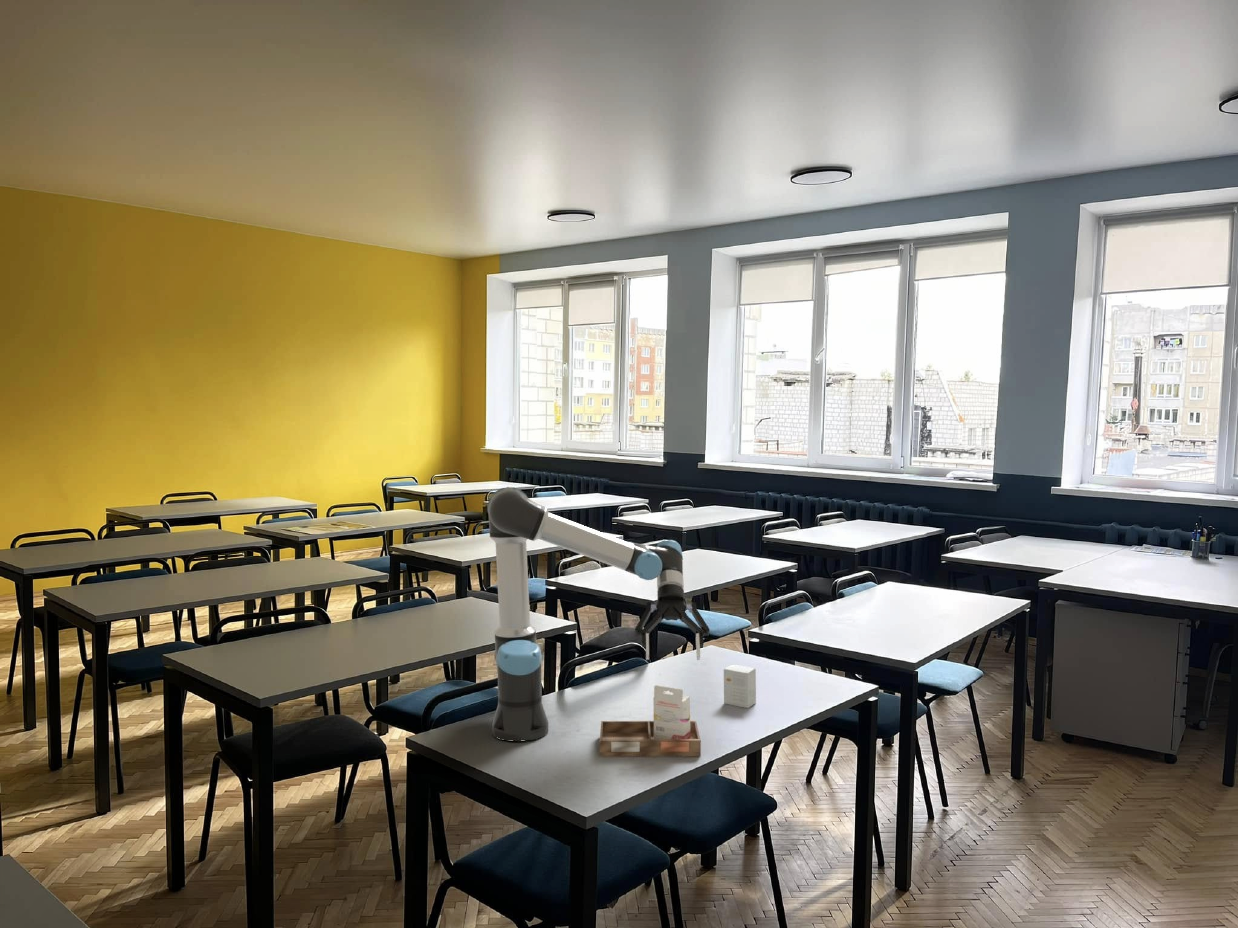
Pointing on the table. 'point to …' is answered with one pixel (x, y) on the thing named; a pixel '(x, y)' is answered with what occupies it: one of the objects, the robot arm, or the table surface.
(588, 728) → the table surface
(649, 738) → the wooden compartment tray
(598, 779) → the table surface
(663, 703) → the ink cartridge box
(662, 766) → the table surface
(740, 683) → the small box
